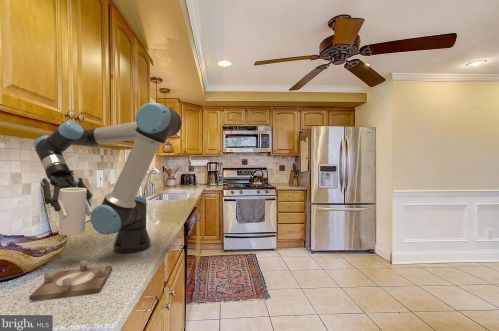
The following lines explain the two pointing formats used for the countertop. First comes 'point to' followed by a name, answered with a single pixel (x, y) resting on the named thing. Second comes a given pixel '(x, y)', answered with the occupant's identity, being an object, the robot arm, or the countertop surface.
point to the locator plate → (72, 282)
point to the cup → (73, 211)
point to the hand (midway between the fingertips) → (77, 215)
